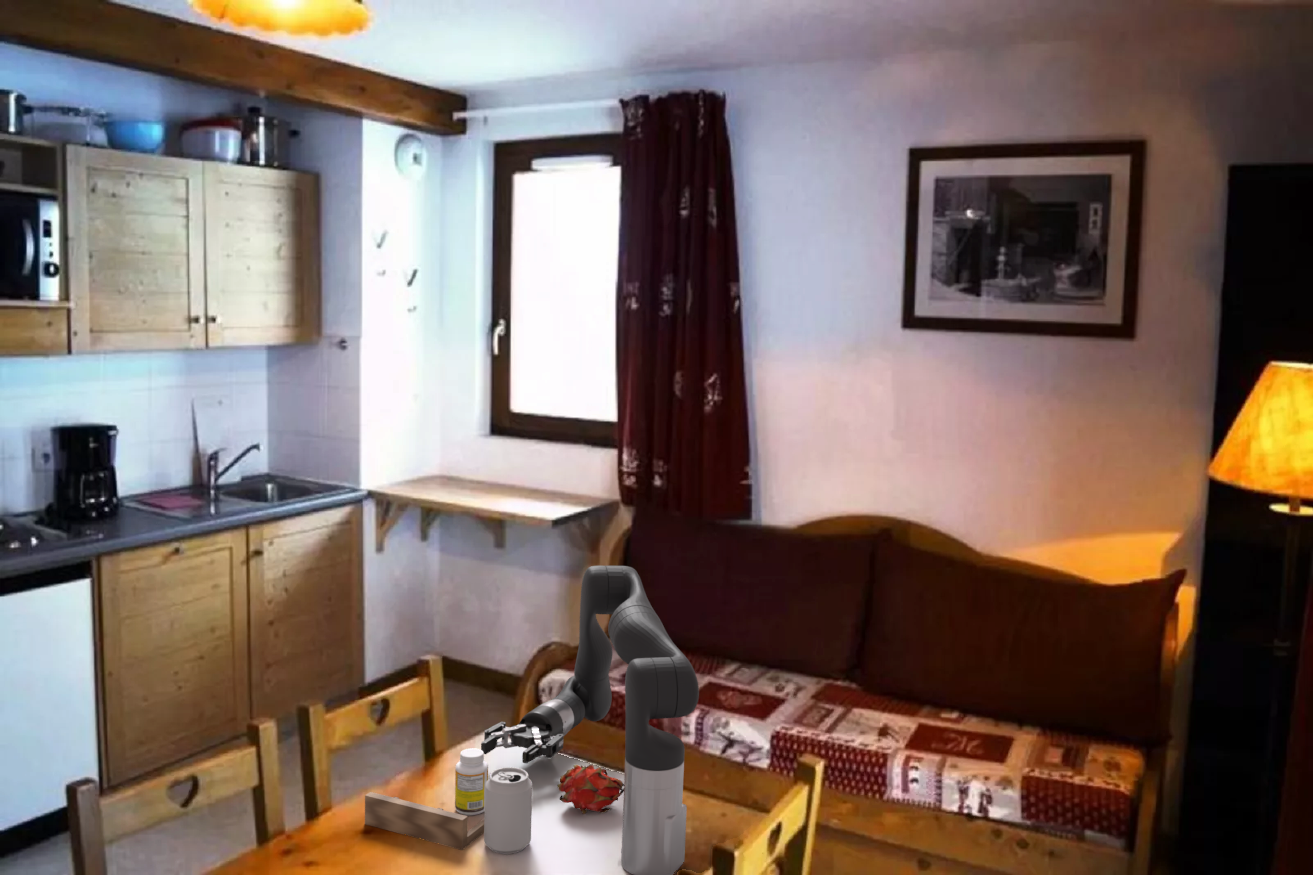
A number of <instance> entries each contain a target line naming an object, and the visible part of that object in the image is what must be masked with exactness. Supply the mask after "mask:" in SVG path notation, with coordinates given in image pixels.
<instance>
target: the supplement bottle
mask: <svg viewBox="0 0 1313 875" xmlns="http://www.w3.org/2000/svg"><path fill="white" fill-rule="evenodd" d="M459 754H460V755H459V761H457V763H456V764H455V767H454V768H455V771H454V773H455V778H454V780H455V781H454V782H455V783H454V785H455V786H454V790H455V792H454V795H455V798H454V808H455V810H456V813H458V814H461V815H465V816H476V815H480V814H482V813H485V784H486V781H487V780H488V779H489V764H488V762H487V761H486V760H484V759H485V758H484V757H485V756H484V755H485V754H484V752H483V751H482V750H481V748H475V747H474V748H472V747H471V748H470V747H469V748H465V749H463V750H461V751H460V753H459Z"/></svg>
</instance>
